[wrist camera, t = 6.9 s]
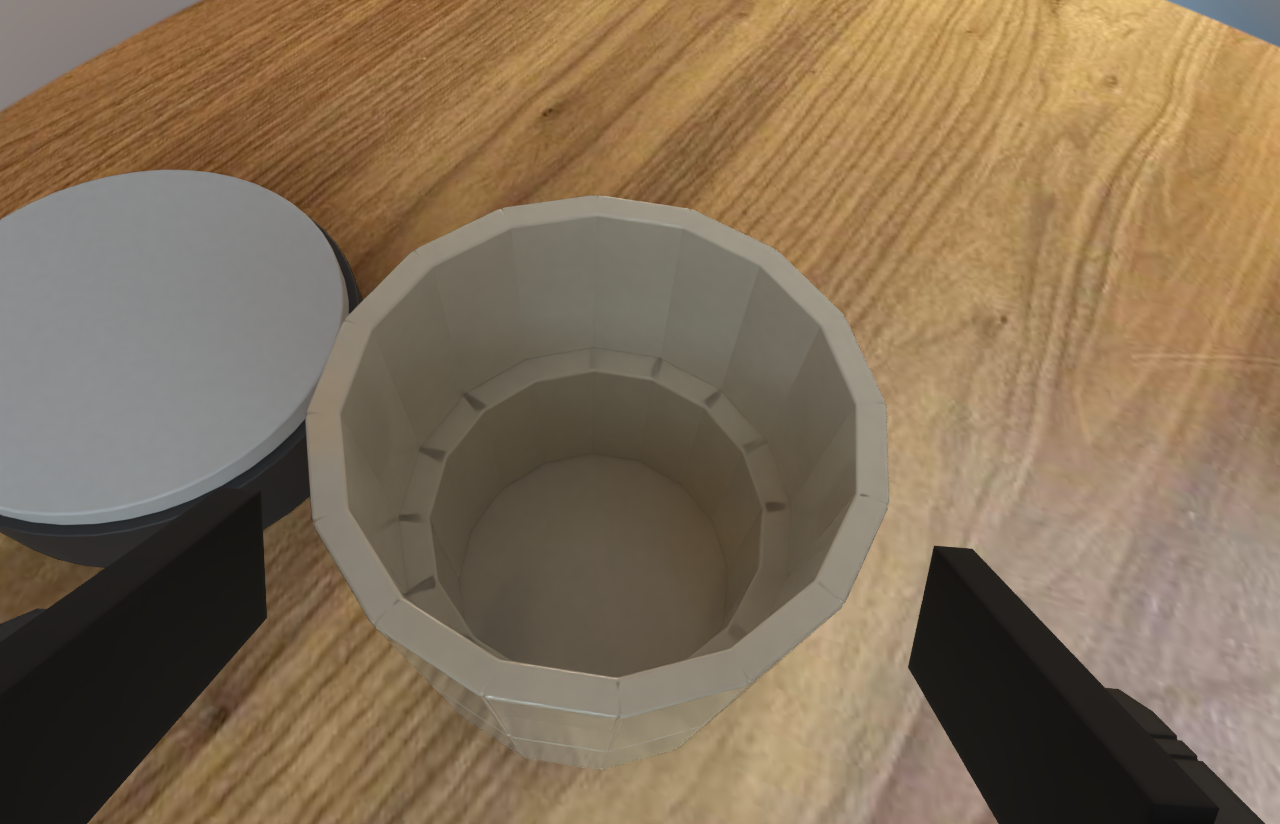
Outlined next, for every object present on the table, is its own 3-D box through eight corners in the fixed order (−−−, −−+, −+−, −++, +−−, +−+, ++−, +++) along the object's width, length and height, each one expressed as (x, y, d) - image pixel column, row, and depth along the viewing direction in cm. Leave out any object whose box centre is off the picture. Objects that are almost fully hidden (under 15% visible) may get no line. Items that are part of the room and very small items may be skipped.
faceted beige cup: (447, 816, 20) (327, 798, 11) (402, 467, 25) (292, 235, 15) (811, 713, 22) (989, 619, 12) (705, 406, 27) (776, 167, 17)
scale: (-69, 614, 22) (-179, 577, 19) (-9, 264, 28) (-84, 190, 24) (399, 516, 24) (372, 468, 21) (362, 213, 30) (337, 140, 27)
